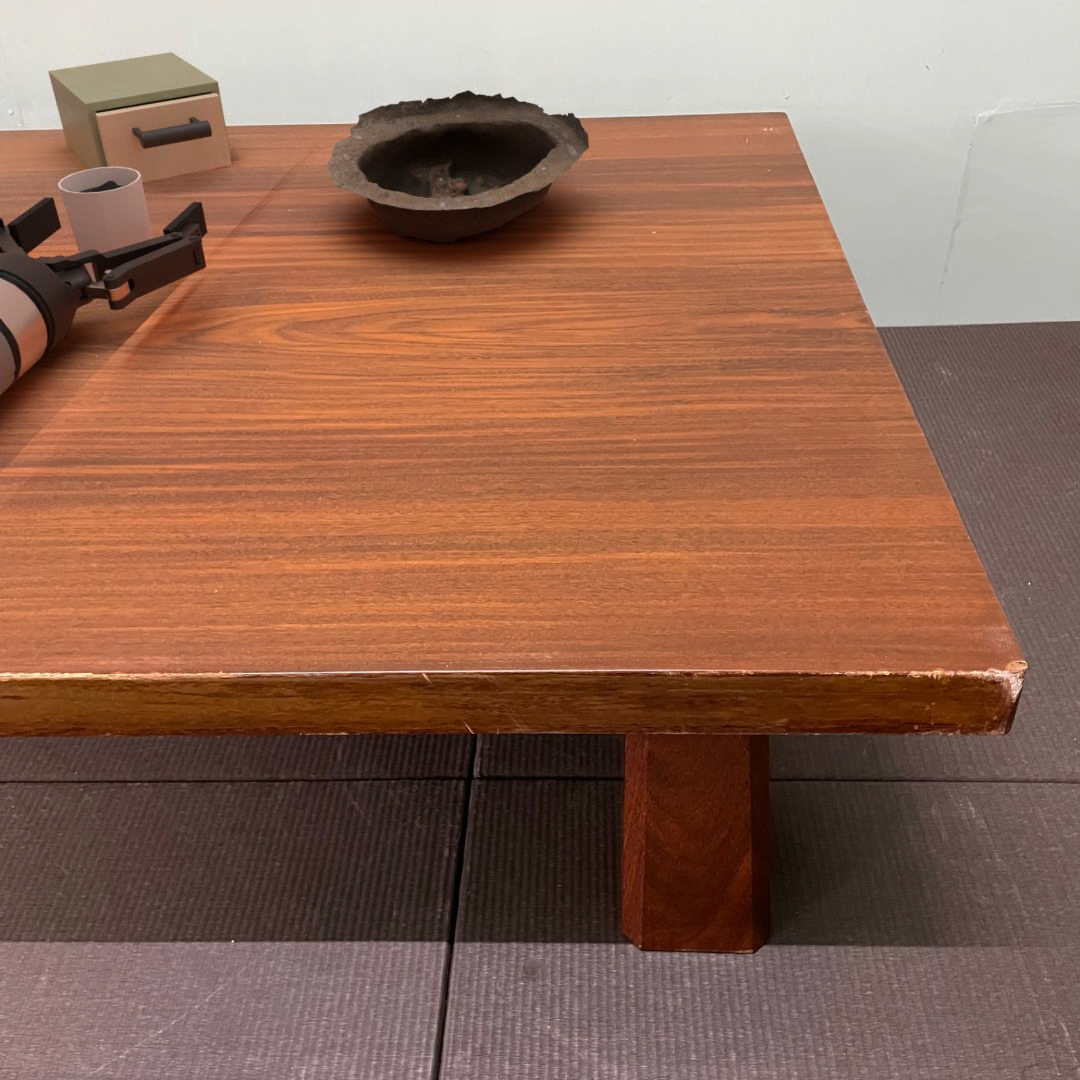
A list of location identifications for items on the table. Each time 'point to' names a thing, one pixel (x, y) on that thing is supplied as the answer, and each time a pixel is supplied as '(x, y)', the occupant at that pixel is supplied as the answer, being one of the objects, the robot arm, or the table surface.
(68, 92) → the cabinet
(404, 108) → the stone bowl
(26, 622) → the table surface
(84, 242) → the drinking glass
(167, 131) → the drawer
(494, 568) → the table surface
